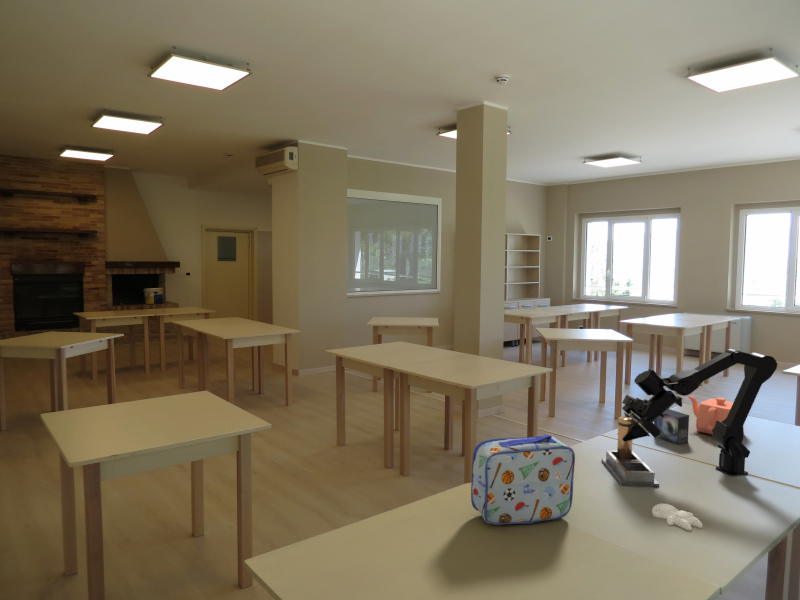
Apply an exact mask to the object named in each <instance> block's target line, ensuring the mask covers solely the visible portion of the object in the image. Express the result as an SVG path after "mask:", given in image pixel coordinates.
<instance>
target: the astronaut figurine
mask: <svg viewBox="0 0 800 600" xmlns="http://www.w3.org/2000/svg"><path fill="white" fill-rule="evenodd" d="M651 513H652V516H653V517H655V518H660V519H665V520H666V523H667V525H668V526H674V525H676V526H679V527H680V528H681V529H684V530H687V531H691V530H692V526H694V527H697V528H700V529H701V528H703V523H702V521H700V519H699V518H697V517H695V516H694V514H693V513H692V512H690V511H686V510H682V509H680V510H679V509H678V508H676V506H673V505H672V504H669V503H658V504H656V505H654V506H653V507H652V510H651Z"/></svg>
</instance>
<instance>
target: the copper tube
mask: <svg viewBox="0 0 800 600" xmlns="http://www.w3.org/2000/svg"><path fill="white" fill-rule="evenodd" d="M617 419H618V420H617V434H618V435H617V447H616V448H617V449H616V451H617V458H618V459H625V460H632V451H633V440H630V441H626V442H624V441H623V440H622V439H623V437H624V436H625V435H626V434H627V433H628V431H629V430H630V429H631V428H632V427H633V419H632V418H630V417H625V416H619V417H618V418H617Z"/></svg>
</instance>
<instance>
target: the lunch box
mask: <svg viewBox="0 0 800 600" xmlns="http://www.w3.org/2000/svg"><path fill="white" fill-rule="evenodd" d="M471 463H472V464H471V465H472V466H471V485H470V486H471V487H470V491H471V493H470V499H471V500H470V501H471V505H472V507H473V508H474V509H475V510H476V511H478V512H479V514H480V515H481V517H482V518H483V520H484V521H485V523H487V524H489V525H513V524H515V525H516V524H527V525H529V524H534V523H537V522H544V521H552V520H558V519H562V518H564V517H566V516H567V515H568V514H569V513H570V510H571V508H572V506H573V505H572V504H573V496H574V481H575V480H574V476H575V465H576V464H575V463H576V454H575V451H574V449H573V447H571V446H569V445H567V444H565V443H563V442H562V441H560V440H559V438H557V437H556V436H554V435H549V434H543V435H537V436H528V437H527V436H526V437H524V436H523V437H507V438H506V437H505V438H504V437H503V438H493V439H487V440H484V441H481V442H480V443H478V444H477V445H476V447H475V448H474V450H473V453H472V462H471Z"/></svg>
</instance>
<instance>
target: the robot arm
mask: <svg viewBox="0 0 800 600" xmlns="http://www.w3.org/2000/svg"><path fill="white" fill-rule="evenodd" d="M737 364H740V365H744V366H743V373H744V375H743V376H744V378H743V381H742V383H741V386H740V387H739V389H738V392H737V393H736V396H735V398H734V400H733V402H734V403H733V405H732V407H731V409H730V411H729V414H728V416H727V418H726V419H725V420H723V421H722V422H720V421H718V420H717V421H716V424H715V427H714V429H713V430H712V432H713V435H712V439H713V441H714V442H715V443H716V444H717V448H719V449H720V453H719V454H718V455H719V456H718V457H719V458H718V466H715V469H716V470H718V471H721V472H722V473H726V474H727V475H729V476H732V477H735V476H742V475H743V476H744V475H748V474H749V471H746V470H745V465H746V459H747V458H748V457H749V456H750V453H751V451H750V450H749V449H748V448H747V447H746V446H745V445H744V444H743V441H744V437H745V432H744V430H745V429H744V424H745V422H746V421H747V418H748V416H749V414H750V411H751V410H752V407H753V405H754V403H755V400H756V398H757V396H758V394H759V392H760V389H761V387H762V385H763V384H764V383H765V382H767V381H768V380H769V379H771V378H772V376H773V374H775V372H776V371H777V368H778V362H777V360H776V359H775V358H774V356H771V355H769V354H768V355H767V354H765V353H762V352H758V351H757V352H752V353H751V352H750V353H748V352H745V351H740V350H738V349H734V348H729V349H726V350H725V351H724V352H723V353H721V354H719V355H717V356H715V357H713V358H712V359H710V360H708V361H706V362H704V363H702V364H700V365H698V366H697V367H695V368H692V369H690V370H684V371H683V370H682V371H680V372H679V371H678V372H676V373H674V374H671V375H670V376H668V377H662V378H661V377H660V376H659V375H658V374H657V372H656V371H655V370H654V369H652V368H648V370H645V371H643V372H641V373H638V374H637V376H635V378H634V380H633V381H634V384H636V385H637V387H638V388H640V389H641V390H642V392H644V393H645V394H646V395H647V396H651V397H650V398H649V399H646V398H645V399H641V398H639V397H633V396H631V395H629V394H626V395H625V396H624V398H623V400H622V404H624V405H623V406H622V407H621V409H622V411H624V417H630V418H632V419H633V427H632V428H631V429H630V430H629V431H628V433H627V434H626V435H625V436H624V437H623V439H622V440H623V441H624V442H626V441H630V440H632V441H633V440H636V439H637V440H638V439H639V438H644V437H650V436H652V437H653V438H654V439H657V438H658V437H659V436H660V433H661V431H660V430H659V429H658V428H657V427H656V426H655V425H654V421H655V420H656V419H657V418H659V417H661V418H663V417H664V415H663V413H664V412H665V411H666V410H668V409H670V408H671V407H672V406H673V405H677V406H679V407H681V408H683V397H681V396H684V397H687V395H689V396H690V395H691V394H693V392H695V391H696V390H697V389H699V387H700V386H701V384H702V383H704V382H705V381H706V380H707V381H708V380H709V379H710V378H713V377H714V376H717V375H718V374H720V373H722V372H724V371H726V370H727V369H729V368H731V367H733V366H734V365H737ZM666 388H667V389H668V390H667V389H666ZM675 393H676V394H678V396H677V395H676V394H675ZM616 435H617V436H618V433H617V434H616Z"/></svg>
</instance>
